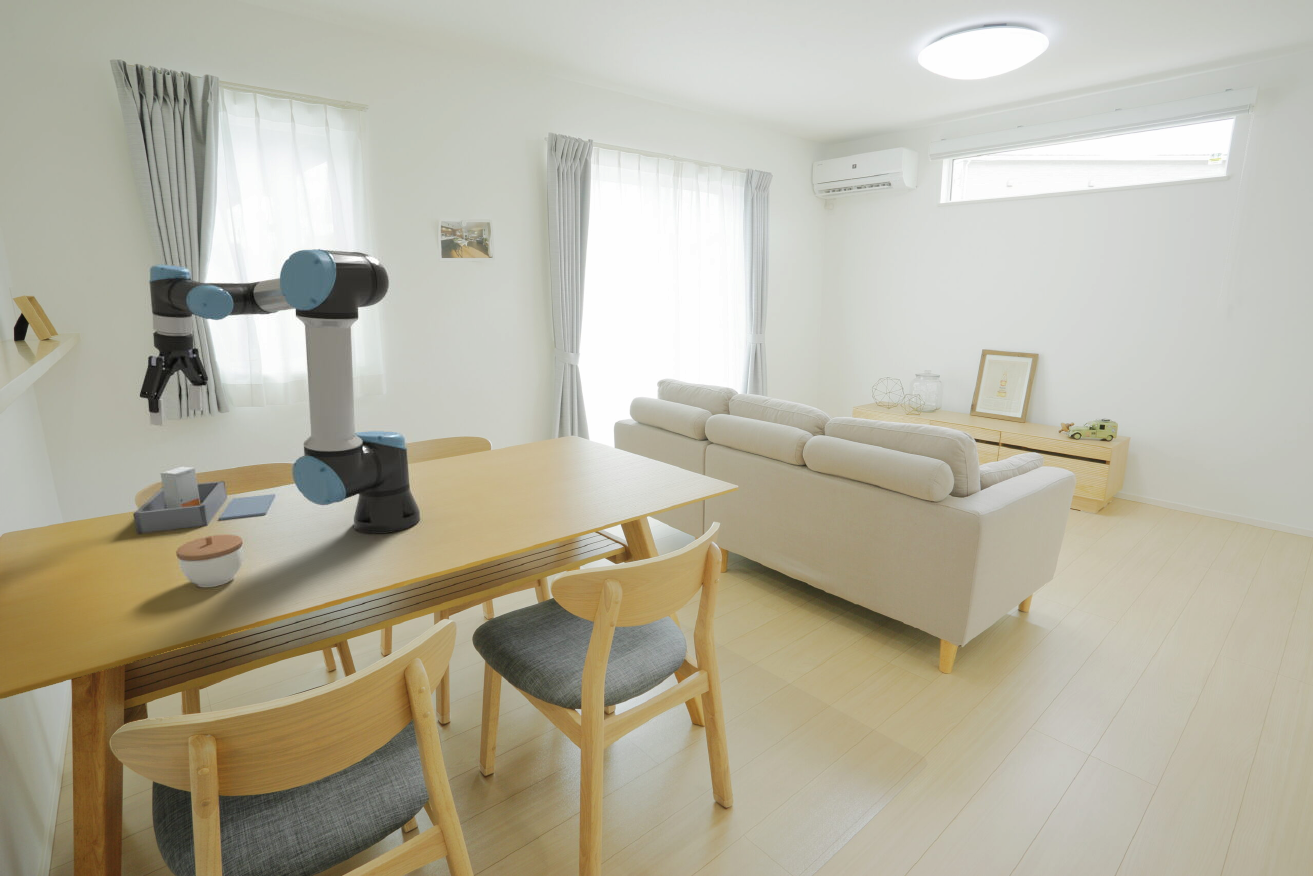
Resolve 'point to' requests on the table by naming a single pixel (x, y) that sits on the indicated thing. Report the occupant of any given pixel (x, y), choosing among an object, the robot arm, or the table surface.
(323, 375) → the robot arm
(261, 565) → the table surface
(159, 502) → the parts bin
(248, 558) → the table surface
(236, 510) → the board
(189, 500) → the skincare box
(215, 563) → the lidded jar
